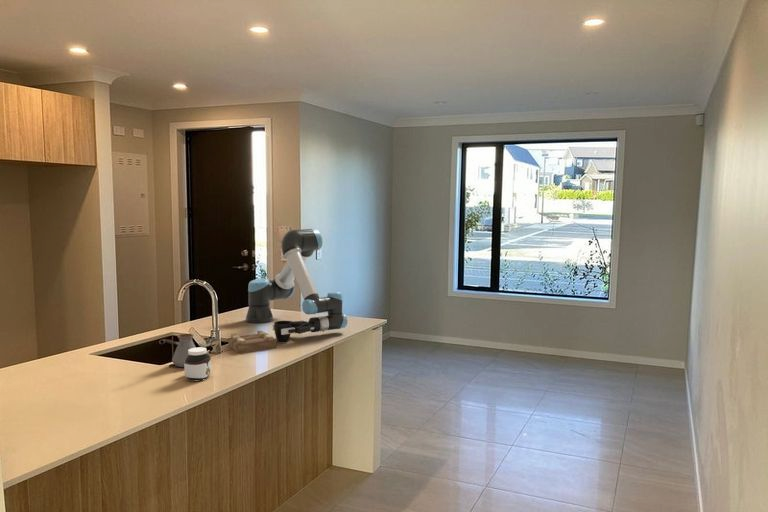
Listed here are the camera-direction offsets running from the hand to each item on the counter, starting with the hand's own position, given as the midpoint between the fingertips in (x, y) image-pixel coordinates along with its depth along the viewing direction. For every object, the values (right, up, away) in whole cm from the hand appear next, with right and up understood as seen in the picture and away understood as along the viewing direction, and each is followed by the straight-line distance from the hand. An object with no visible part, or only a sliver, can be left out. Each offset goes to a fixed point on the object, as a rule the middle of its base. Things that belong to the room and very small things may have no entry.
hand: (277, 329), depth 283 cm
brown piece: (-10, -7, -9) cm, 15 cm away
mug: (+4, -6, +3) cm, 7 cm away
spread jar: (-22, -12, -54) cm, 60 cm away
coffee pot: (-32, -11, -43) cm, 55 cm away
